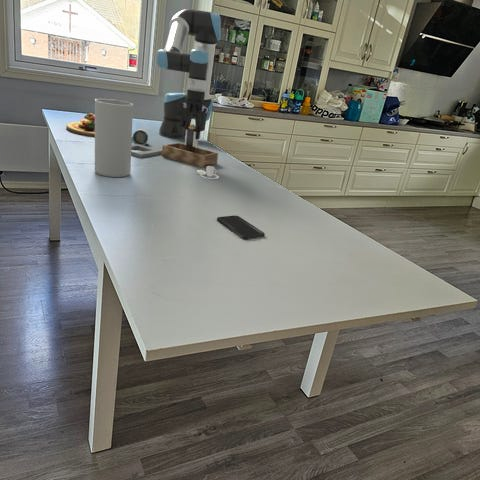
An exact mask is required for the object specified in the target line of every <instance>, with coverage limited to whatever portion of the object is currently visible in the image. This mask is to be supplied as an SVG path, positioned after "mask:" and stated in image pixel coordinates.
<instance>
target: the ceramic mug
mask: <svg viewBox="0 0 480 480" xmlns="http://www.w3.org/2000/svg"><path fill="white" fill-rule="evenodd" d="M148 141H149V133H148V132H147V130H145V129H144V128H138V129H136V130H135V131H134V132H133V133H132V143H133V144H140V145H143V146H146V145H147V143H148Z"/></svg>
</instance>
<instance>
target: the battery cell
mask: <svg viewBox="0 0 480 480" xmlns="http://www.w3.org/2000/svg"><path fill="white" fill-rule="evenodd" d="M195 130H196V126H195V123H193V124H192V123H191V124H190V125H189V126H188V133H187V144H186V151H189V152H193V153H195V147H196V146H195V147H193V137H194V131H195Z"/></svg>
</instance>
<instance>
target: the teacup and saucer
mask: <svg viewBox="0 0 480 480" xmlns="http://www.w3.org/2000/svg"><path fill="white" fill-rule="evenodd" d="M205 168H206V171H205V170H204V169H197V174H198V175H199V176H200V177H202V178H205V179H211V180H214V179H219V178H220V176H219V175H217V174H216V173H217V169H216V168H215V166H213V165H211V166H207V167H205ZM206 176H207V177H206ZM213 176H215V177H213Z"/></svg>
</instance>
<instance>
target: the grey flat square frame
mask: <svg viewBox="0 0 480 480" xmlns="http://www.w3.org/2000/svg"><path fill="white" fill-rule="evenodd" d="M138 150H139V151H138ZM140 150H141V151H140ZM159 155H162V150H161V149H158V148H153V147H150V146H146V145H140V144H135V143H132V146H131V157H132V156H133V157H135V158H139V159H142V158H143V159H144V158H148V157H154V156H159Z"/></svg>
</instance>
